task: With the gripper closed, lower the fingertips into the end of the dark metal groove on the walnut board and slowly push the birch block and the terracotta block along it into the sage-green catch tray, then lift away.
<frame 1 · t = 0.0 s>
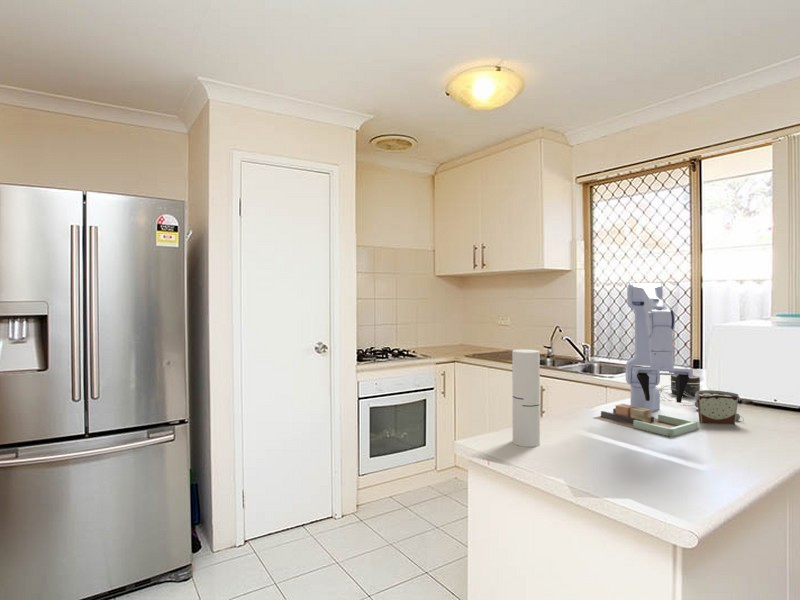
hand: (663, 401, 128), 11 cm above the table, tool pointing down, fingers open, 7 cm apart
birch block: (640, 422, 142), point 1 cm above the table, touching groove board
cylindrical container: (526, 443, 126), on the table
kitchen whisk: (697, 410, 161), on the table
catch tray: (665, 428, 135), resting on groove board
jar: (685, 395, 184), on the table
groove board: (643, 426, 141), on the table
food container: (712, 424, 143), on the table
terracotta block: (625, 418, 146), point 1 cm above the table, touching groove board
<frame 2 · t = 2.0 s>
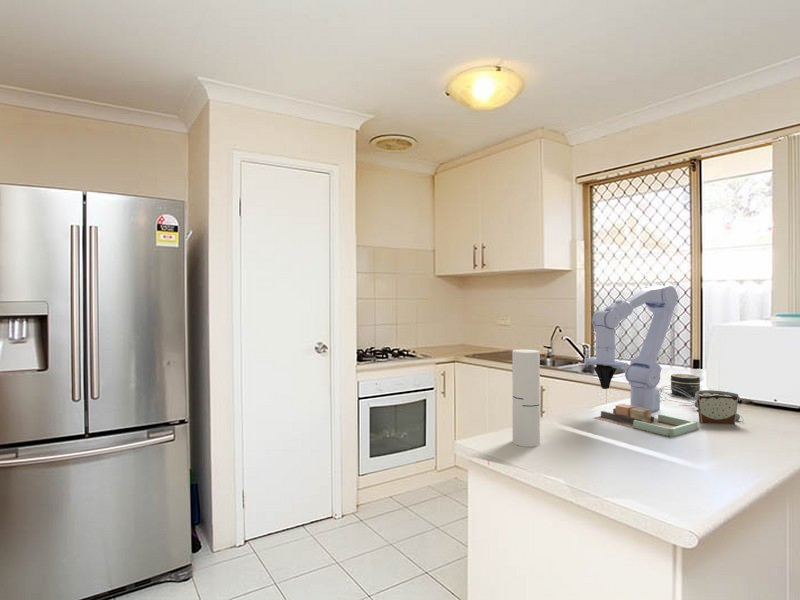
hand: (605, 388, 152), 9 cm above the table, tool pointing down, fingers closed
nothing on the table moved.
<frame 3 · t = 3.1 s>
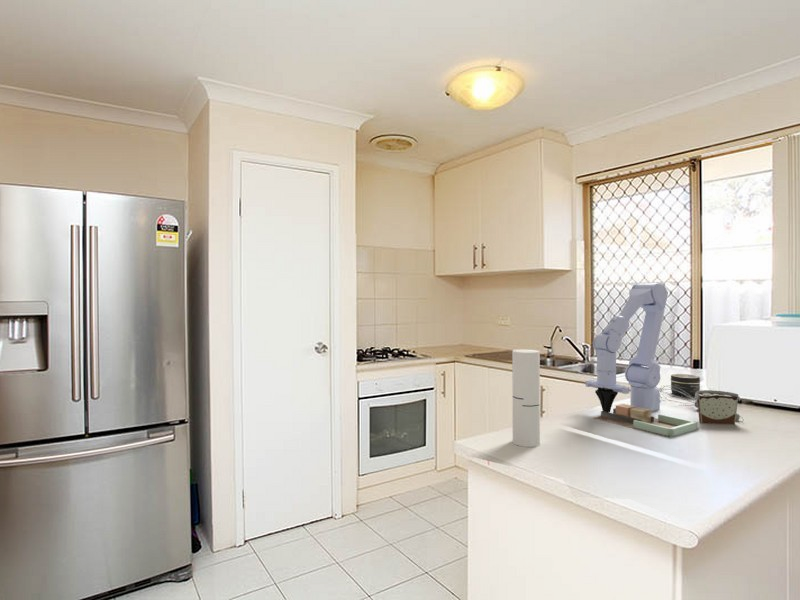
hand: (606, 411, 152), 2 cm above the table, tool pointing down, fingers closed
nothing on the table moved.
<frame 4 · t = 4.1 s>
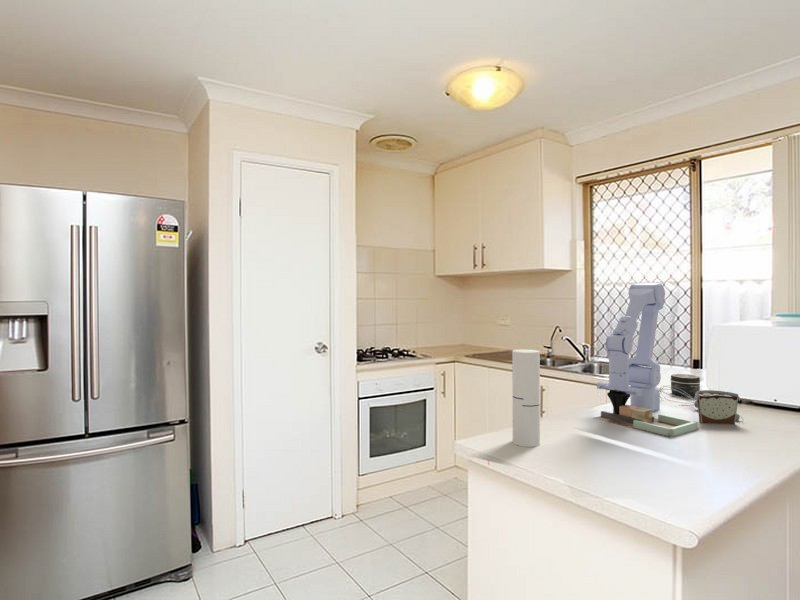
hand: (618, 414, 148), 2 cm above the table, tool pointing down, fingers closed
birch block: (641, 422, 141), point 1 cm above the table, touching groove board, terracotta block
terracotta block: (629, 419, 145), point 1 cm above the table, touching birch block, gripper, groove board
everything else where it was.
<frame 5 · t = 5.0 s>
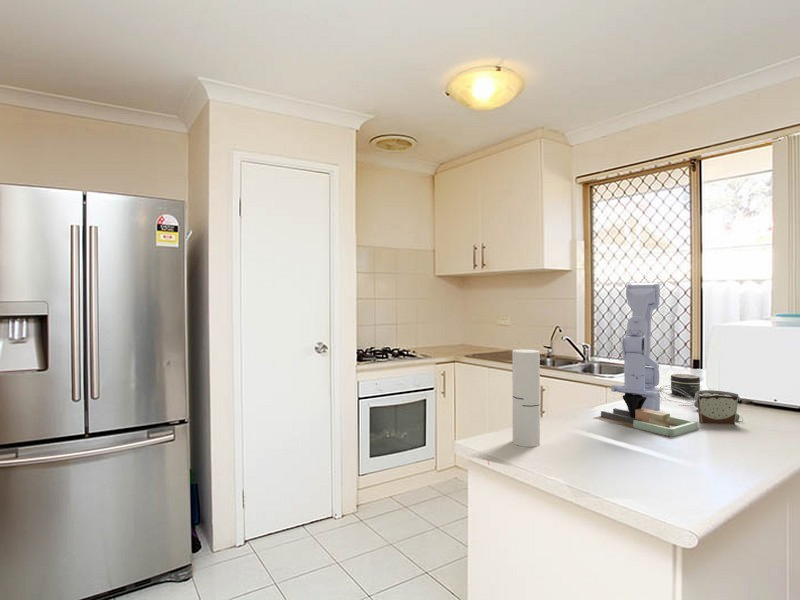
hand: (634, 418, 143), 2 cm above the table, tool pointing down, fingers closed
birch block: (659, 426, 137), point 1 cm above the table, touching groove board
terracotta block: (645, 423, 140), point 1 cm above the table, touching gripper
everything else where it was.
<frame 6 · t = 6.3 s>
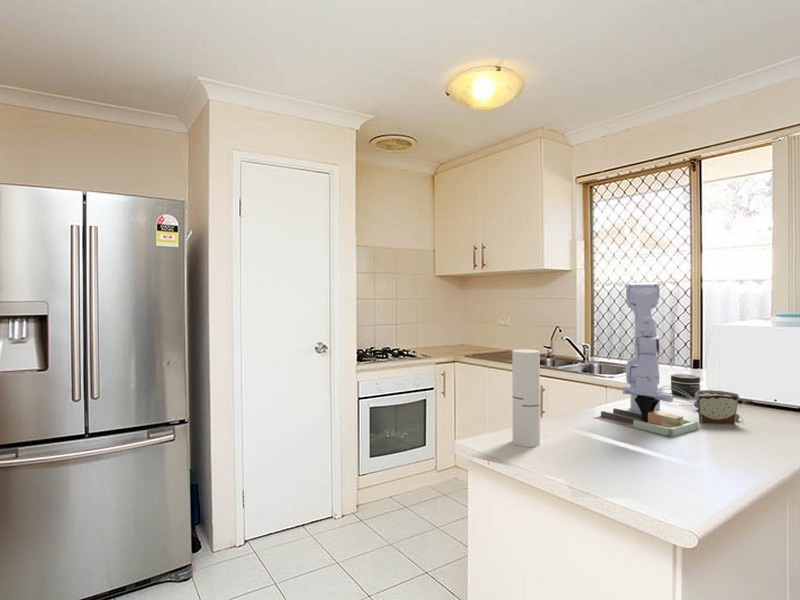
hand: (646, 421, 140), 2 cm above the table, tool pointing down, fingers closed
birch block: (672, 429, 134), point 1 cm above the table, touching groove board, terracotta block
terracotta block: (658, 426, 137), point 1 cm above the table, touching birch block, gripper, groove board
everything else where it was.
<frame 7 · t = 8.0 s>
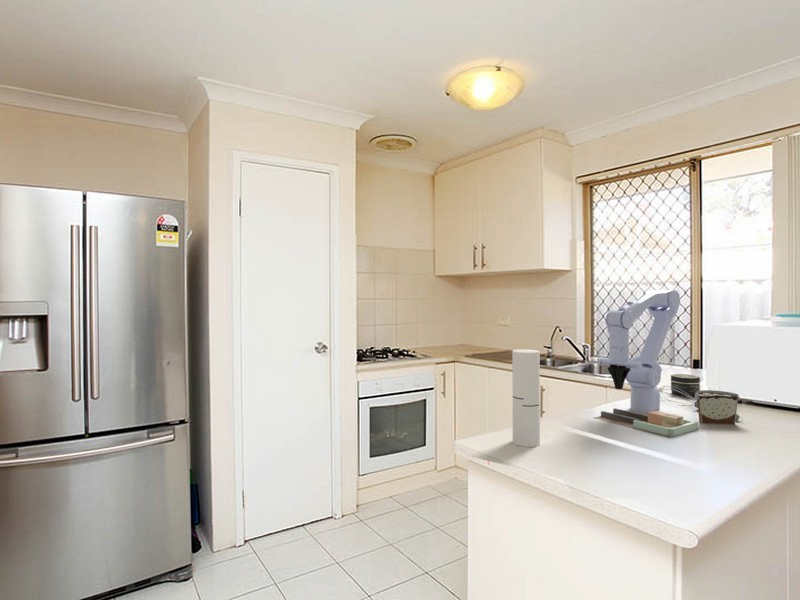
hand: (618, 388, 151), 9 cm above the table, tool pointing down, fingers closed
terracotta block: (658, 426, 137), point 1 cm above the table, touching birch block, groove board
everything else where it was.
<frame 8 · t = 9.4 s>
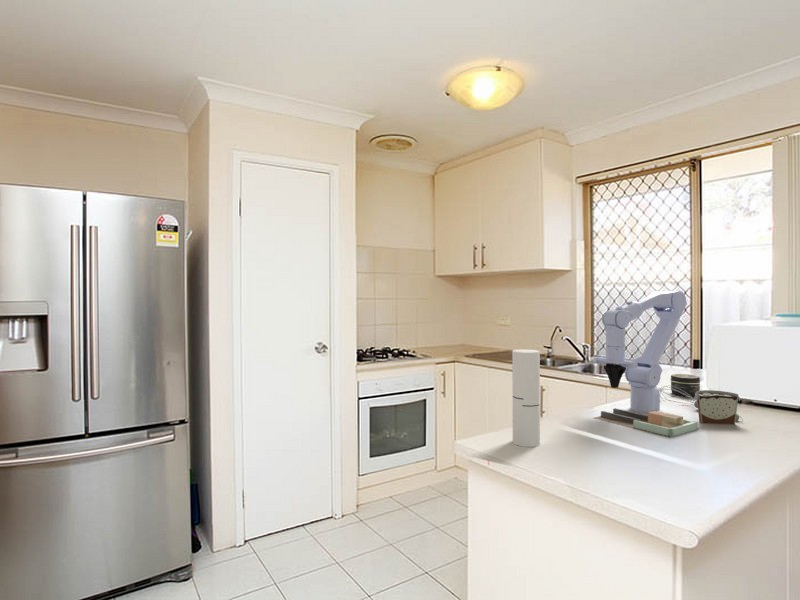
hand: (614, 387, 153), 9 cm above the table, tool pointing down, fingers closed
nothing on the table moved.
at the end: birch block inside the target area on the catch tray (1.8 cm from its centre), point 0.0 cm above the catch tray's base; terracotta block inside the target area on the catch tray (2.2 cm from its centre), point 0.0 cm above the catch tray's base; birch block tilted 0° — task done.
